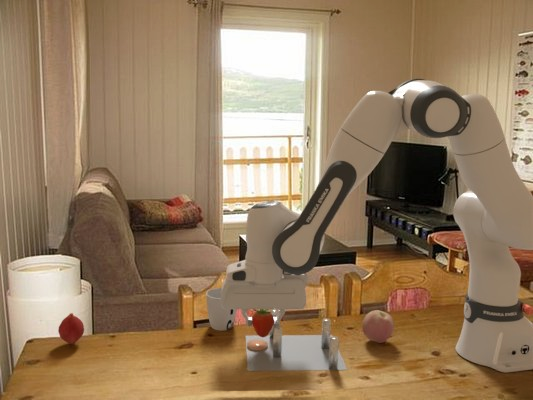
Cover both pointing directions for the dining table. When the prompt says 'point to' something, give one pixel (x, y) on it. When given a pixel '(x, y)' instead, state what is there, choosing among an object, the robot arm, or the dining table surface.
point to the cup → (219, 311)
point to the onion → (71, 329)
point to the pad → (257, 345)
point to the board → (291, 354)
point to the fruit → (262, 322)
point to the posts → (326, 343)
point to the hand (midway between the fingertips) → (262, 325)
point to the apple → (378, 326)
